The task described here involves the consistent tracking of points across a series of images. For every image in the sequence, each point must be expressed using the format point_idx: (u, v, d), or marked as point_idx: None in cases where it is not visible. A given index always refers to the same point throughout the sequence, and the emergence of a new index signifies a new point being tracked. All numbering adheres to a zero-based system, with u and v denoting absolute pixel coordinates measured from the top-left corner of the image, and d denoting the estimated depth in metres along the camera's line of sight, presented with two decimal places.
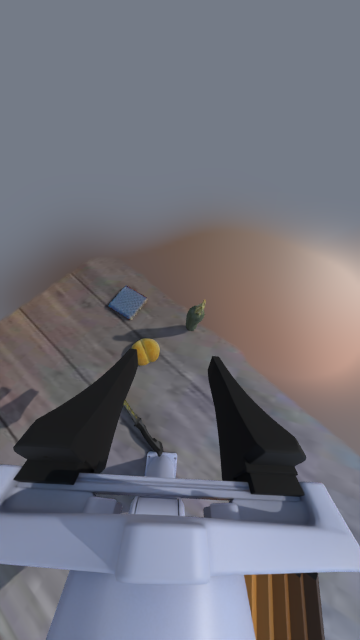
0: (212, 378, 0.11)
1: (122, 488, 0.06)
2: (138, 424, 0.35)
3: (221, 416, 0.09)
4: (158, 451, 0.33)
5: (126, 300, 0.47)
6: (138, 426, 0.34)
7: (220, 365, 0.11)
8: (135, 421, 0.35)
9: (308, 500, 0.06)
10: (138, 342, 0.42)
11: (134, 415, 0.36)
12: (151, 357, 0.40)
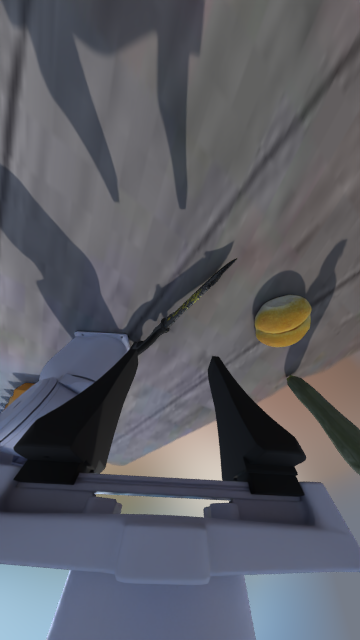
0: (212, 378, 0.11)
1: (122, 488, 0.06)
2: (163, 332, 0.20)
3: (221, 416, 0.09)
4: None
5: None
6: (160, 332, 0.20)
7: (220, 365, 0.11)
8: (167, 326, 0.19)
9: (308, 500, 0.06)
10: (309, 313, 0.19)
11: None
12: (270, 341, 0.21)
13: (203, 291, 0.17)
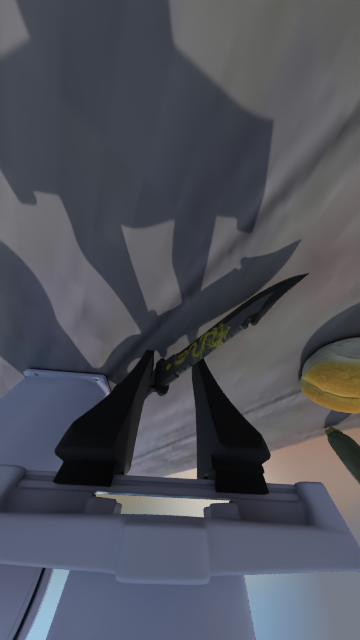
0: (194, 376, 0.11)
1: (122, 488, 0.06)
2: None
3: (199, 414, 0.09)
4: None
5: None
6: (154, 391, 0.12)
7: (201, 363, 0.11)
8: (166, 384, 0.11)
9: (308, 500, 0.06)
10: None
11: None
12: (331, 404, 0.13)
13: (234, 332, 0.09)
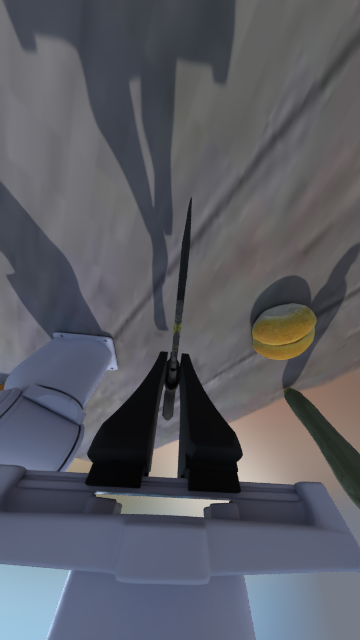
0: (180, 375, 0.11)
1: (122, 488, 0.06)
2: None
3: (181, 413, 0.09)
4: (168, 416, 0.18)
5: None
6: None
7: (186, 362, 0.11)
8: (172, 380, 0.12)
9: (308, 500, 0.06)
10: None
11: (176, 361, 0.12)
12: (268, 353, 0.19)
13: (178, 309, 0.09)
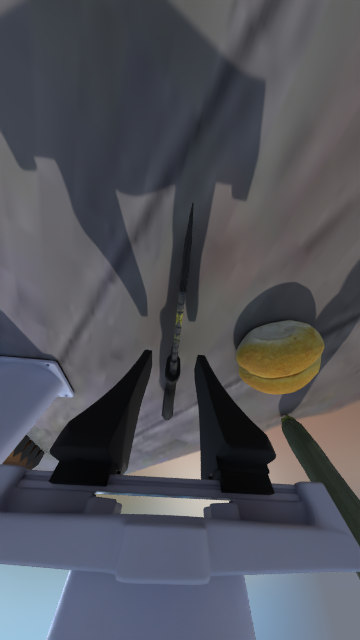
0: (197, 377, 0.11)
1: (122, 488, 0.06)
2: None
3: (202, 415, 0.09)
4: (168, 415, 0.17)
5: None
6: None
7: (204, 364, 0.11)
8: (173, 372, 0.13)
9: (308, 500, 0.06)
10: None
11: (177, 354, 0.13)
12: (258, 386, 0.14)
13: (180, 300, 0.10)
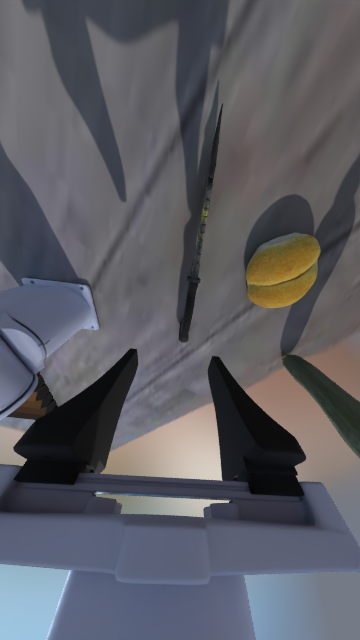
0: (212, 378, 0.11)
1: (122, 488, 0.06)
2: (195, 285, 0.16)
3: (221, 416, 0.09)
4: (185, 337, 0.20)
5: None
6: (192, 287, 0.16)
7: (220, 365, 0.11)
8: (195, 275, 0.15)
9: (308, 500, 0.06)
10: (317, 257, 0.15)
11: None
12: (264, 296, 0.17)
13: (207, 195, 0.12)
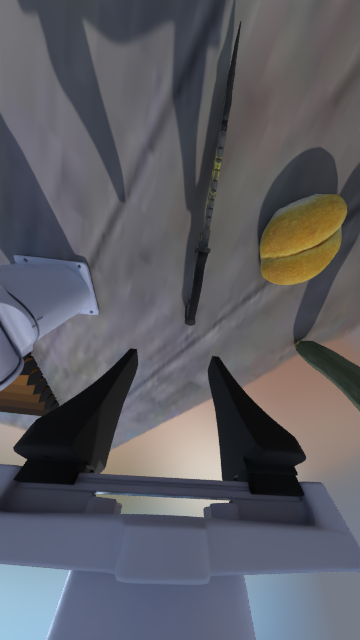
0: (212, 378, 0.11)
1: (122, 488, 0.06)
2: (205, 255, 0.14)
3: (221, 416, 0.09)
4: (191, 319, 0.18)
5: None
6: (202, 259, 0.14)
7: (220, 365, 0.11)
8: (205, 244, 0.14)
9: (308, 500, 0.06)
10: (343, 220, 0.13)
11: None
12: (281, 269, 0.15)
13: (220, 143, 0.11)
